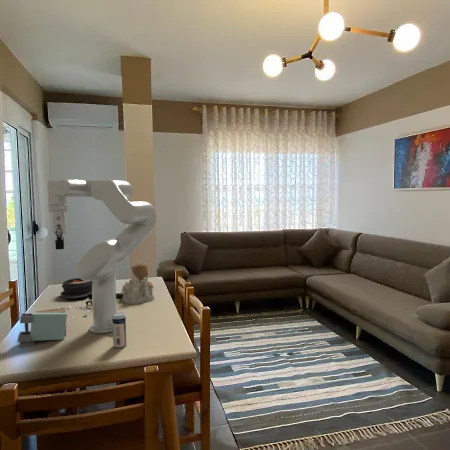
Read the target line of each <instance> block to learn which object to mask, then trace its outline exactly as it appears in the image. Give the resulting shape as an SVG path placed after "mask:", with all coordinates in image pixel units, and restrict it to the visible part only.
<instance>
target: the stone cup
mask: <svg viewBox="0 0 450 450" xmlns="http://www.w3.org/2000/svg"><path fill="white" fill-rule="evenodd" d="M131 273H132V276H133V275H135V277H136V279H137V278H138V279H139V283H140V281H141V280H143V278H144V277H146V278H147V283H148V285H149V286H150V287H151V288H152V289H153V288H154V285H153V283H152V282H151V281H149V279H148V278H149V277H148V275H149V268H148V264H147V263H146V262H143V263H138V264H137V263H136V264H133V265H132V266H131Z"/></svg>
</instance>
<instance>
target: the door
mask: <svg viewBox="0 0 450 450" xmlns="http://www.w3.org/2000/svg"><path fill="white" fill-rule="evenodd" d="M24 315H28V316H24ZM67 317H68V312H65V313H35V312H30V313H25V312H22V313H21V314H20V317H19V318H20V320H19V324H25V323H28V324H30V331H29V335H25V331H18V332H19V333H18V335H17V336H18V337H17V343H20V342H30V341H33V340H35V341H58V340H59V341H60V340H61V341H62V340H65V338H66V336H65V328H66V329H67Z"/></svg>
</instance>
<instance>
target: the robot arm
mask: <svg viewBox="0 0 450 450" xmlns="http://www.w3.org/2000/svg"><path fill="white" fill-rule="evenodd" d="M46 184H47V203H48V204H47V206H48V207H47V208H48V213H51V220H52V229H53V231H52V232H53V234H54V236H55V240H54V242H55V250H57V251H59V250H64V248H65V240H64V239H65V238H64V235H67V219H66V218H67V217H66V213H68V212H69V211H68V209H69V208H68V207H69V206H68V198H71V197H72V198H78V197H79V198H93V199H94V200H97V201H102V202H103V203H104V205H105V206H106V207H107V209H108V210H109V211H110V212H111V214H113V216H114V217H115V218H116V220H118V221H119V222H120V223H121V224H124V225H128V226H127V227H125V228H124V229H123V230H122V231H121V232H120V233H118V235H116V236H115V237H114V238H110V239H104V240H101V241H99V242H97V243H96V244H94V245H93V246H92V247H91V248H90V249H89V250H88V251H87V252H86V253H85V254H84V255H83V256H82V257H81V258H80V259H79V261H78V262H77V265H76V268H75V269H76V270H75V271H76V275H77V278H80V279H81V280H83V281H93V284H92V294H91V301H92V310H93V312H92V321H93V322H92V324H91V325H89V332H91V333H94V334H107V333H113V321H112V317H113V315H114V314H115V313H118V312H117V284H116V283H117V273H118V262H121V261H125V259H126V258H128V257H129V255H130V254H132V253H133V252H134V251H135V250H136V249H137V248H138V246H140V245H141V244H142V243H143V242H144V241H145V240H147V238H148V237H149V235H151V233H152V232H153V230H154V229H155V226H156V225H157V224H156V223H157V212H156V208H155V207H154V205H152V204H151V203H150V202H147V201H142V200H141V201H140V200H138V201H130V199H131V198H132V197H133V195H134V188H133V186H132V184H131V183H130V182H128V181H125V180H121V179H119V180H118V179H117V180H116V179H100V178H98V179H95V180H94V179H93V180H91V179H90V180H89V179H79V178H78V179H75V178H62V179H50V180H48V181H47V183H46Z"/></svg>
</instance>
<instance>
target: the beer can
mask: <svg viewBox="0 0 450 450" xmlns="http://www.w3.org/2000/svg"><path fill="white" fill-rule="evenodd" d="M126 316H127V315H126V314H125V312H117V313H115V314H114V315H113V317H112V321H113V331H112V342H113V344H112V346H113V347H114V348H117V349H118V348H121V349H122V348H124V347H126V346H127V322H126Z"/></svg>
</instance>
